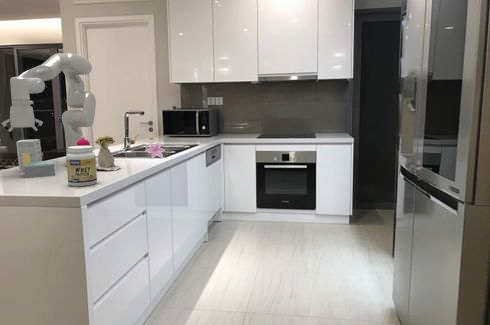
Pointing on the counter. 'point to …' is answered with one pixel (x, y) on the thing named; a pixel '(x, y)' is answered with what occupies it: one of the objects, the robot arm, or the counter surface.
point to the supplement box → (28, 151)
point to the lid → (32, 164)
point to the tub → (39, 171)
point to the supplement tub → (81, 166)
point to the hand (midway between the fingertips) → (24, 139)
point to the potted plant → (105, 154)
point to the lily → (155, 150)
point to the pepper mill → (83, 142)
